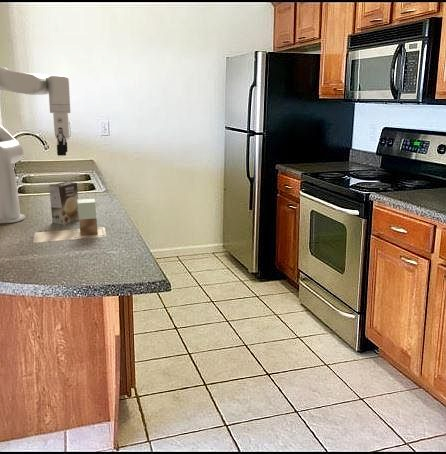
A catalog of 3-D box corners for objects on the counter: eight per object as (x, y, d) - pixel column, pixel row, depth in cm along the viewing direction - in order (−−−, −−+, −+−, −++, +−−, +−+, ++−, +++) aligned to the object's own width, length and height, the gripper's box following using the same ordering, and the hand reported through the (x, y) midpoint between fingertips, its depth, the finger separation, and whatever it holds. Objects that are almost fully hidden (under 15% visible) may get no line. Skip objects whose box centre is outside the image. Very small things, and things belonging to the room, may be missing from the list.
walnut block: (80, 235, 179) (79, 219, 178) (80, 231, 185) (78, 215, 183) (97, 234, 181) (96, 218, 179) (96, 230, 186) (95, 214, 185)
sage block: (79, 219, 178) (77, 203, 176) (78, 215, 183) (77, 199, 182) (96, 218, 179) (95, 202, 178) (95, 214, 185) (94, 198, 183)
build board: (32, 245, 172) (32, 242, 172) (35, 235, 184) (34, 232, 184) (107, 239, 179) (106, 235, 178) (104, 229, 191) (104, 226, 190)
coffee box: (64, 227, 194) (60, 186, 190) (52, 225, 197) (48, 185, 193) (80, 221, 202) (77, 182, 198) (68, 219, 205) (65, 181, 201)
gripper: (69, 110, 184) (71, 156, 188) (71, 108, 200) (73, 150, 204) (47, 109, 182) (50, 156, 187) (51, 107, 198) (54, 150, 203)
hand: (62, 153), depth 196 cm, fingers open, 9 cm apart
